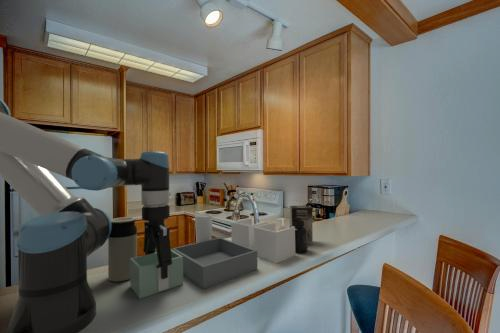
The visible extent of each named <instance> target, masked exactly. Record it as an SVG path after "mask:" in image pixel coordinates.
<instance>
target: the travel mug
mask: <svg viewBox="0 0 500 333" xmlns="http://www.w3.org/2000/svg"><path fill="white" fill-rule="evenodd" d="M110 219H111V223H112V230H111V234H110V236H109V238H108V239H107V241H108V246H107V248H108V250H107V251H108V252H107V253H108V254H107V255H108V257H107V258H108V259H107V264H108V265H107V266H108V267H107V269H108V272H107V274H108V275H107V276H108V280H109V281H111V282H115V283H116V282H118V283H119V282H125V281H128V280H129V281H130V258H134V257H138V232H137V231H138V227H137V226H136V220H137V217H133V216H124V217H123V216H122V217H116V218H110Z"/></svg>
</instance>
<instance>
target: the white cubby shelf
mask: <svg viewBox="0 0 500 333" xmlns="http://www.w3.org/2000/svg"><path fill="white" fill-rule="evenodd" d="M230 225H231V226H230V227H231V229H230V230H231V231H230V234H231V236H230V237H231V238H230V239H231V240H230V241H232V242H234V243H237V244H240V245H243V246H245V247H248V248H251V249H254V250H256V251H257V258H260V259H263V260H266V261H269V262H271V263H275V264H278V263H281V262H283V261H285V260H288V259H290V258H292V257H295V256H296V253H295V227H293V226H292V227H291V228H290V227H288V228H285V229H281V230H279V231H278V230H277V231H276V222H270V223H269V222H268V221H266V220H265V221H263V222H259V223H254V224H253V218H251V217H249V218H244V219H238V220H234V221H231V223H230Z"/></svg>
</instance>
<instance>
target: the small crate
mask: <svg viewBox="0 0 500 333" xmlns="http://www.w3.org/2000/svg"><path fill="white" fill-rule="evenodd" d="M171 258H172V265H168V279H169V288H168V289H165V290H162V291H158V269H157V267H156V266H158V265H159V263H158V257H157V251H156V253H152V254H147V255H145V254H144V255H139V256H138V255H137V257H134V258H130V279H129V284H130V285H129V287H130V288H131V290H132V291H133V292H134V293H135V295H136V296H137V297H138V299H140V300H141V299H143V298H147V297H149V296H152V295H155V294H158V293H161V292H164V291H167V290H170V289H174V288H176V287H179V286H182V285H184V274H183V256H181V255H180V254H178V253H176V252H175V251H173V250H172V249H171Z"/></svg>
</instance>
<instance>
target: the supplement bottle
mask: <svg viewBox="0 0 500 333" xmlns="http://www.w3.org/2000/svg"><path fill="white" fill-rule="evenodd" d="M292 226H293V227H295V254H306V253H307V252H309V251H308V250H309V245H308V241H307V229H306V228H305V227H304V221H303V220H293V221H292Z"/></svg>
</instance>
